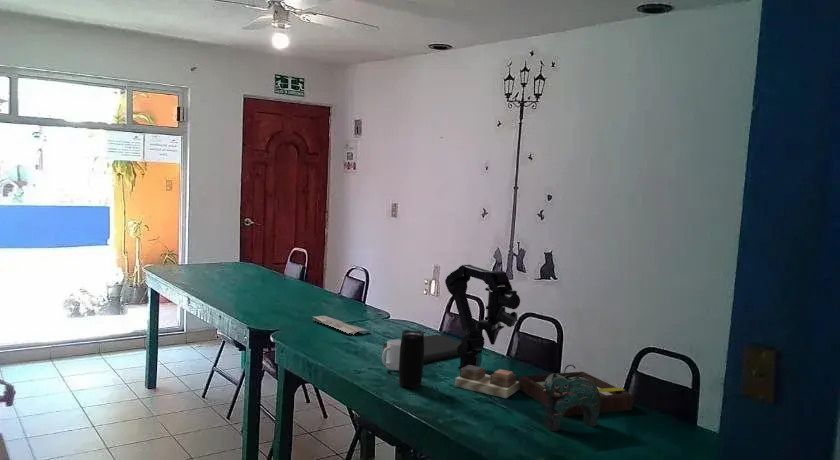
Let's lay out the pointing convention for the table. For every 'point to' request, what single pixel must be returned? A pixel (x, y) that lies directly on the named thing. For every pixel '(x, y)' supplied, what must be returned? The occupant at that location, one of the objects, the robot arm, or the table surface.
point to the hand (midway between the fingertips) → (492, 344)
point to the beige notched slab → (339, 324)
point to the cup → (392, 355)
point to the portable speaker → (411, 359)
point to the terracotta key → (503, 373)
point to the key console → (486, 383)
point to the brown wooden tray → (610, 402)
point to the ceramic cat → (571, 399)
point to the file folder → (438, 348)
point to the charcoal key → (473, 368)
